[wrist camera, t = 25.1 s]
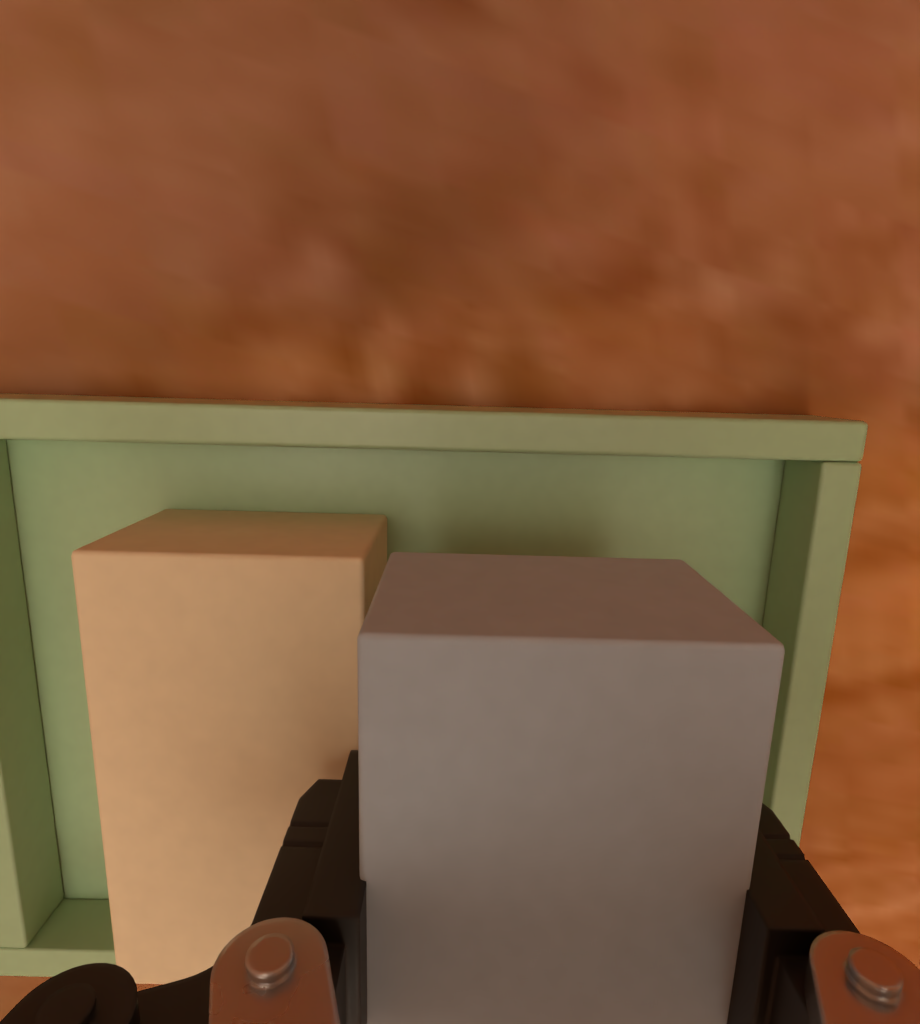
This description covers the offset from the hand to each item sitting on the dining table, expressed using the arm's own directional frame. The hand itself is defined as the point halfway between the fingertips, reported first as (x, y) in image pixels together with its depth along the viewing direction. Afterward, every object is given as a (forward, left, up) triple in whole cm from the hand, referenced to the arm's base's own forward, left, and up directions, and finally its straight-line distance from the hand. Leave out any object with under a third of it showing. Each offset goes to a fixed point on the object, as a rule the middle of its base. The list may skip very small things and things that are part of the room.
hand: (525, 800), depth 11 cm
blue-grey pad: (0, 0, 0) cm, 0 cm away
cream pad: (0, -5, -4) cm, 7 cm away
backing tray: (0, -3, -4) cm, 5 cm away
